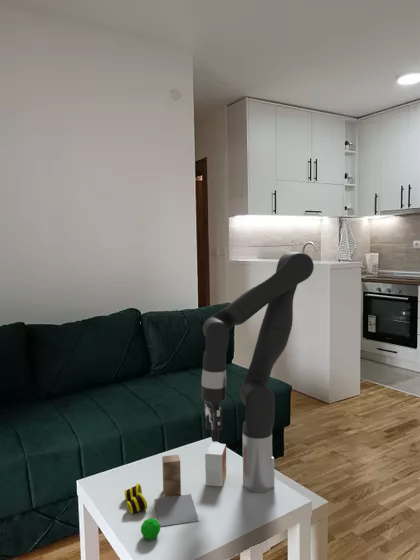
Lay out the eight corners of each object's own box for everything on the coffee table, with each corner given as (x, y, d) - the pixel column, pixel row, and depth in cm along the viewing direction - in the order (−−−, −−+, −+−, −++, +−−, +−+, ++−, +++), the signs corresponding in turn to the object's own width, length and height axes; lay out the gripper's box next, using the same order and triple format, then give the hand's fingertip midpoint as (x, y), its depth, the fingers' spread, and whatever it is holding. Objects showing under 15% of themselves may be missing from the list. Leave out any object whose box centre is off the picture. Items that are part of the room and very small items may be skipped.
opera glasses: (125, 500, 133) (122, 486, 132) (142, 494, 135) (139, 479, 134) (131, 519, 124) (127, 504, 123) (149, 512, 126) (145, 496, 125)
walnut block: (179, 488, 138) (178, 454, 137) (180, 495, 134) (180, 460, 133) (163, 490, 137) (162, 456, 136) (164, 497, 133) (163, 462, 132)
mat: (190, 494, 134) (190, 494, 134) (198, 521, 122) (198, 520, 122) (154, 499, 132) (154, 499, 132) (159, 527, 119) (159, 526, 119)
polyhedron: (137, 539, 114) (136, 522, 114) (149, 528, 119) (148, 512, 118) (152, 546, 112) (152, 528, 112) (164, 534, 116) (163, 517, 116)
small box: (222, 487, 138) (222, 455, 137) (205, 485, 139) (204, 453, 138) (226, 474, 146) (226, 443, 145) (210, 472, 147) (209, 442, 146)
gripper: (231, 390, 128) (230, 444, 129) (220, 376, 142) (218, 425, 143) (206, 391, 126) (205, 446, 128) (197, 377, 140) (196, 426, 141)
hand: (212, 435), depth 135 cm, fingers open, 8 cm apart
